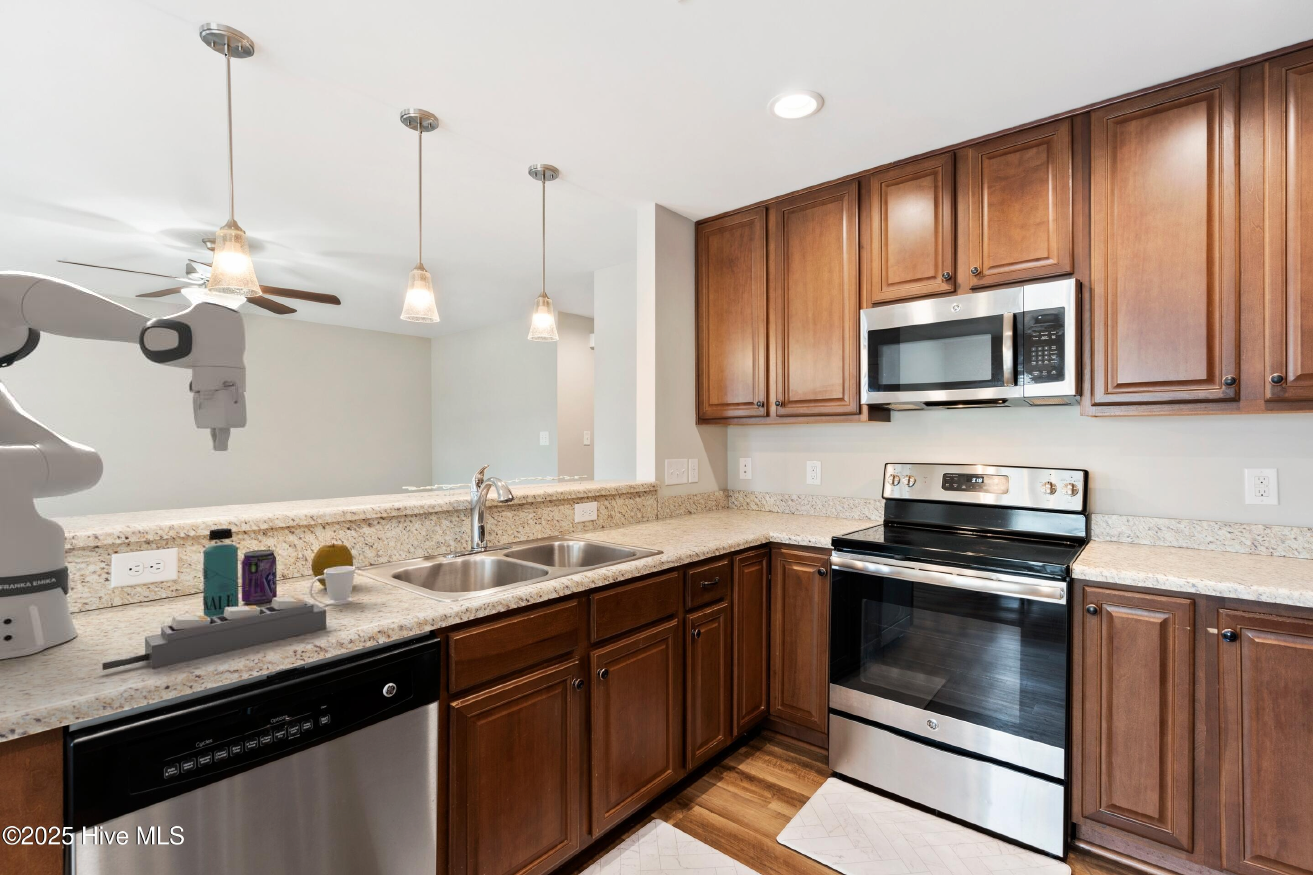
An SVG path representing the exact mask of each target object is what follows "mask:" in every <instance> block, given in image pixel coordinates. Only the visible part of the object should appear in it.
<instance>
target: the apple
mask: <svg viewBox="0 0 1313 875" xmlns="http://www.w3.org/2000/svg"><path fill="white" fill-rule="evenodd" d="M353 557H354V556H353V553H352V551H351V550H350V548H349V547H348V546H347V545H345V544H341V543H334V542H333V543H331V544H330V543H329V544H325V545H322V546H320V547H319V548H318V549H317V551H316V552H315V553H314V555H313V558H312V560H311V563H310V565H311V567H310V568H311V571H312V574H313V576H314V579H315V578H316V577H318V576H324V571H325V569H329V568H333V567H341V566H351V567H354V558H353ZM316 582H318V584H320V585H321V586H322V587H325V588H326V582H325V579H317V580H316Z"/></svg>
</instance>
